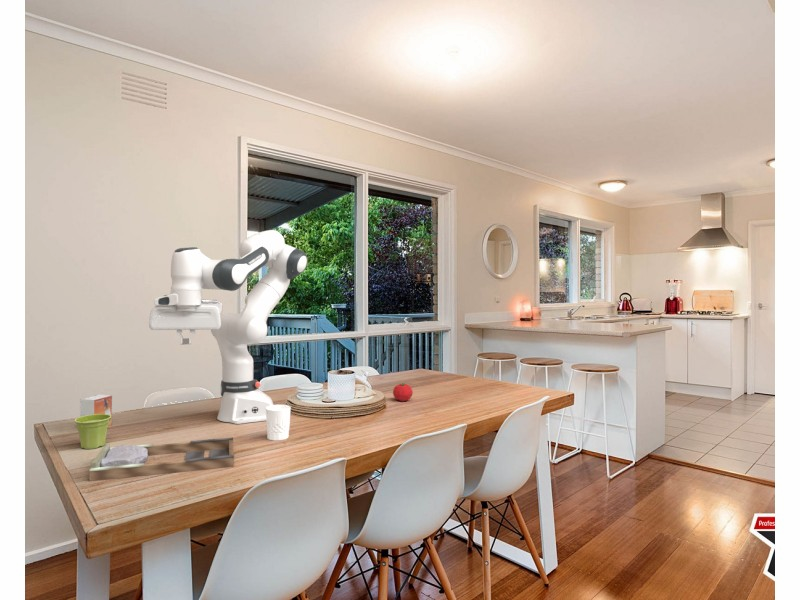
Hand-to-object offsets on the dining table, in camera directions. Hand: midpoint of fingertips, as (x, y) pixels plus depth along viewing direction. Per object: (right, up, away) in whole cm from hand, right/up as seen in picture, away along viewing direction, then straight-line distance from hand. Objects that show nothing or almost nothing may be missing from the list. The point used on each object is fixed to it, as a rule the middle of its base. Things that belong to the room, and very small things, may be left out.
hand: (185, 344), depth 148 cm
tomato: (+67, -31, +66) cm, 99 cm away
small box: (-38, -30, +17) cm, 52 cm away
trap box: (+2, -31, -14) cm, 35 cm away
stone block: (-9, -32, -17) cm, 37 cm away
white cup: (+26, -32, +9) cm, 42 cm away
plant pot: (-27, -31, -3) cm, 41 cm away
